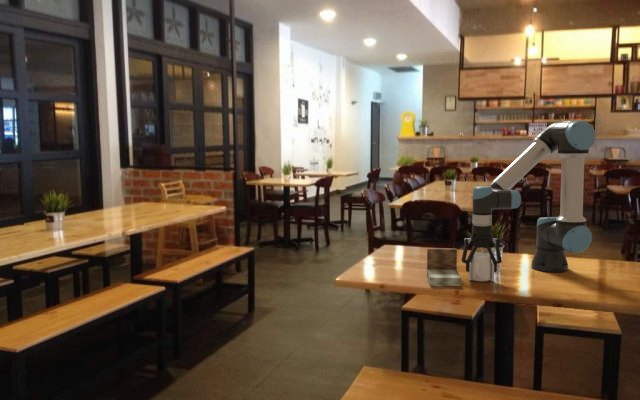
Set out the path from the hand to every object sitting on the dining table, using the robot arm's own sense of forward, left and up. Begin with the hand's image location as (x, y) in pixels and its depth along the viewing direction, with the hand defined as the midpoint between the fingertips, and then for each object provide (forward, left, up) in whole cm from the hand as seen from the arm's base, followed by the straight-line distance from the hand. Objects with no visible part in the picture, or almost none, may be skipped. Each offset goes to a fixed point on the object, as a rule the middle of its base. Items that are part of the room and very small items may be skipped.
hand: (481, 279), depth 231 cm
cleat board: (+15, +1, -1) cm, 15 cm away
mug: (+1, 0, 0) cm, 1 cm away
